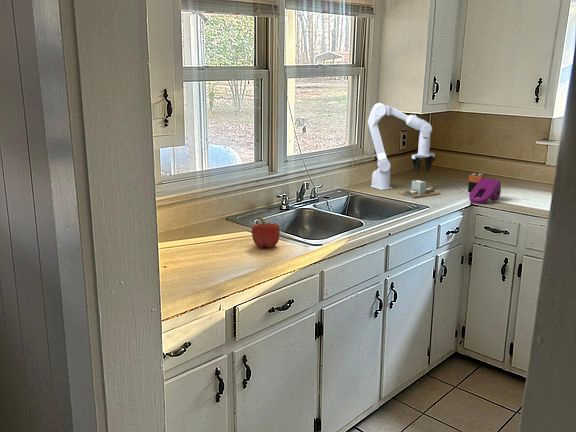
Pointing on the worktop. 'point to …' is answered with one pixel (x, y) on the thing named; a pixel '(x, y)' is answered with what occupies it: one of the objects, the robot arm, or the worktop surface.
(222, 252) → the worktop surface
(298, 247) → the worktop surface
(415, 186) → the block
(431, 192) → the rail mount
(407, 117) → the robot arm
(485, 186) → the mounting bracket
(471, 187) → the battery
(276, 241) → the vegetable
